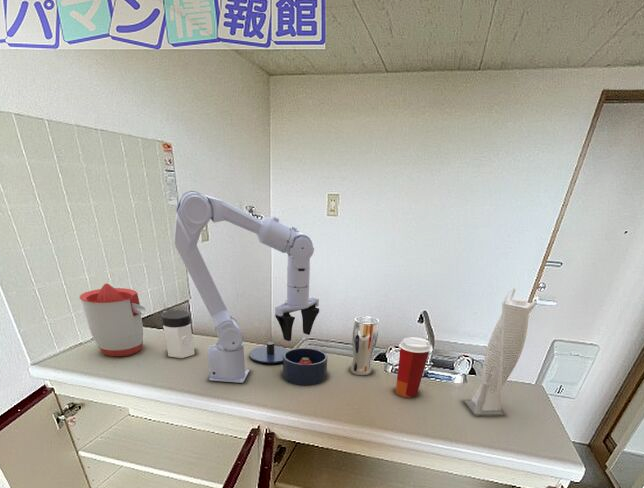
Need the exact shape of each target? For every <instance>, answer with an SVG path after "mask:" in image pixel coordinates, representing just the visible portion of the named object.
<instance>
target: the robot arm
mask: <svg viewBox="0 0 644 488" xmlns="http://www.w3.org/2000/svg"><path fill="white" fill-rule="evenodd" d="M174 221H175V223H174V236H173V241H174V246H175V248H176V250H177V252H178V255H179V256H180V258H181V260H182V262H183V264H184V266H185V268H186V270H187V272H188V274H189V276H190V278H191V280H192V281H193V284H194V286H195V288H196V289H197V292H198V294H199V295H200V298H201V299H202V301H203V303H204V305H205V307H206V309H207V311H208V313H209V316H210V317H211V319H212V322H213V325H214V330H215V332H216V334H217V337H218V339H217V342H216V344H210V345H209V347H208V350H207V362H208V363H207V364H208V370H209V381H210V382H211V381H212V382H223V383H224V382H225V383H239V384H243V383H244V382H245V380H246V378H247V376H248V375H249V373H250V369H246V366H245V365H246V363H245V347H244V334H243V331H242V330H241V328H240V326H239V323H238V321H237V319H236V318H235V317H233V316H232V315H231V314H230V312H229V310H228V308H227V305H226V304H225V302H224V300H223V297H222V296H221V293H220V291H219V289H218V287H217V285H216V283H215V281H214V279H213V277H212V275H211V272H210V270H209V268H208V266H207V264H206V262H205V260H204V258H203V255H202V253H201V251H200V250H199V247H198V243H199V239H200V236H201V234H202V232H203V230H204V229H205V228H206V226H207V225H208V224H209V222H210V221H212V223H214V224H215V223H219V222H224V221H225V222H228V223H230V224H232V225H235V226H237V227H239V228H242V229H243V230H246V231H249V232H251V233H254V234H255V235H256V236H257V238H258V241H259V243H261V244H262V245H265V246H267V247H269V248H272V249H273V250H276V251H278V252H280V253H283V254H287V266H286V267H287V268H286V270H287V271H286V299H285V302H284V303H282V304H280V305H278V306H275V307H274V310H275V311H274V317H275V319H276V320H277V322H278V324H279V327H280V329H281V333H282V337H283V340H284V341H287V342H291V341H292V335H293V334H292V333H293V326H294V322H295V318H296V317H295V316H292V315H291V313H294V312H297V311H300V313H301V319H302V320H301V321H302V333H303V334H305V335H306V336H310V335H311V333H312V329H313V327H314V326H313V325H314V322H315V320H316V318H317V316H318V315H319V313H320V308H319V305H320V299H319V298H317V297H310V275H311V274H310V273H311V258H312V256H313V255H314V252H315V247H314V246H313V245H314V244H313V241H312V240H311V238H310V236H308V235H306V234H304V233H302V232H300V231H299V230H298V228H297V227H295V226H292V227H290V226H289V225H287V224H284V223H283V222H280V219H279V218H278V217H276V216H272V217H270V216H267V217H265V218H263V219H259V218H257V217H256V216H254V215H251V214H250V213H248V212H246V211H244V210H242V209H240V208H239V207H236V206H234V205H232V204H230V203H229V202H227V201H225V200H223V199H220V198H216V197H214V196H210V195H207V194H204V195H203V194H201V193H200V192H199V191H196V190H188V191H186V192H184V193H183V194H182V195H181V197H180V199H179V202H178V203H177V206H176V209H175V220H174Z"/></svg>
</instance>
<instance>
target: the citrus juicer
mask: <svg viewBox="0 0 644 488" xmlns="http://www.w3.org/2000/svg"><path fill="white" fill-rule="evenodd" d="M79 300H80V301H81V303H82V304H81V305H82V307H83V310H84V314H85V319H86V321H87V326H88V328H89V331H90V334H91V336H92V338H93V341H94V342H95V344H96V345H97V347H98V349H99V350H100V351H101V352H102V354H103V355H106V356H109V357H124V356H132V355H134V354H136V353H138V352H140V351H141V350H142V347H143V343H144V326H143V319H142V316H144V315H146V314H147V309H146V308H145V306H143V305H141V303H140V298H139V293H138V291H136V290H134V289H131V288H125V287H123V288H122V287H114V286H112V285H111V284H109V283H108V282H107V283H106V282H105V283H104V284H103V285H102V287H101V288H98V289H93V290H89V291H85V292H83V293H81V294H79Z"/></svg>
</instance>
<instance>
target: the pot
mask: <svg viewBox="0 0 644 488" xmlns="http://www.w3.org/2000/svg"><path fill="white" fill-rule="evenodd" d="M288 350H289V351H287V352H285V353H284V355H283V362H282V377H283V379H284V380H285V381H286V382H288V383H291V384H293V385H299V386H311V385H312V386H313V385H317V384H320V383H322V382H324V381H325V380H326V379H327V370H328V369H327V368H328V355H327V353H326V352H324V351H322V350H319V349H315V348H311V347H297V348H292V349H288ZM304 357H306V358H309V360H310V361H311V362H312V364H299V361H300V360H301V359H302V358H304Z"/></svg>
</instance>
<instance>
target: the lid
mask: <svg viewBox="0 0 644 488" xmlns="http://www.w3.org/2000/svg"><path fill="white" fill-rule="evenodd" d="M265 346H267V347H265ZM289 350H290V349H288V348H287V347H284V346H279V345H275V342H274V341H267V342H266V345H262V346H258V347H254V348H253V349H251V350H250V351H249V353H248V355H249V358H250V359H251V360H253V361H255V362H257V363H262V364H280V363H283V355H284V353H285V352H287V351H289Z"/></svg>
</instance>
